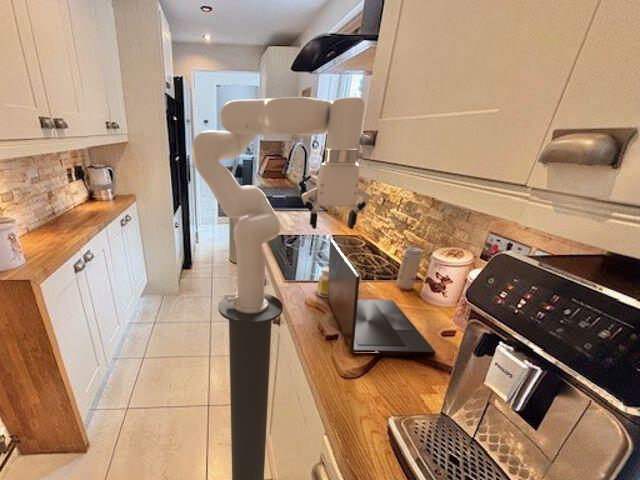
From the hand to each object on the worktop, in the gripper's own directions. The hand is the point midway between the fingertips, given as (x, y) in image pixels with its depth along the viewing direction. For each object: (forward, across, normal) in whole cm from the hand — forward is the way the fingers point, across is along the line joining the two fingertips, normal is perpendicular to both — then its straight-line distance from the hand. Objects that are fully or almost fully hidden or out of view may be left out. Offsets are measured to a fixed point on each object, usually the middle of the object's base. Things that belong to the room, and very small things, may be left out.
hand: (331, 227), depth 86 cm
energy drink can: (+30, -38, -29) cm, 56 cm away
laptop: (+30, -16, +1) cm, 34 cm away
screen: (+18, -5, +1) cm, 19 cm away
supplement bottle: (+30, -6, -21) cm, 38 cm away
